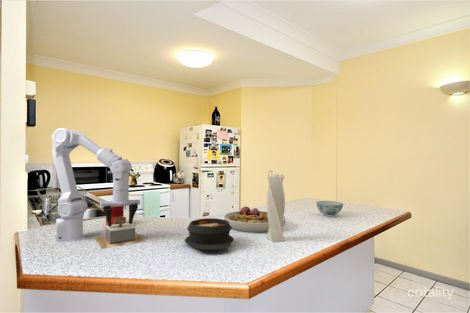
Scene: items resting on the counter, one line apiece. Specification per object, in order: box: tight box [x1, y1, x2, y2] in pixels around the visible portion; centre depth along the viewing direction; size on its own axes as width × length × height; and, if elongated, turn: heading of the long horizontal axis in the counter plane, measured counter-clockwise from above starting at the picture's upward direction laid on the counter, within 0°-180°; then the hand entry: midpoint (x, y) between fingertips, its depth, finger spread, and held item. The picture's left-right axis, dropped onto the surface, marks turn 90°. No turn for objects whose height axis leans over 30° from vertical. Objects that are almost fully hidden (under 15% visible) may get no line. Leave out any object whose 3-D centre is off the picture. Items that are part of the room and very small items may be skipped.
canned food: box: [105, 204, 125, 226], centre depth 131 cm, size 8×8×11 cm
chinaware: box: [315, 200, 344, 218], centre depth 158 cm, size 15×15×8 cm
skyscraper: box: [266, 170, 286, 243], centre depth 109 cm, size 8×8×28 cm
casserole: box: [184, 217, 234, 251], centre depth 102 cm, size 25×19×8 cm
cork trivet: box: [94, 231, 147, 250], centre depth 105 cm, size 16×16×1 cm
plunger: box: [115, 216, 127, 227], centre depth 105 cm, size 7×7×8 cm
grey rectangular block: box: [104, 222, 136, 244], centre depth 106 cm, size 10×9×5 cm
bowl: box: [223, 206, 286, 234], centre depth 132 cm, size 30×30×8 cm
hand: (120, 224), depth 105 cm, fingers open, 7 cm apart
